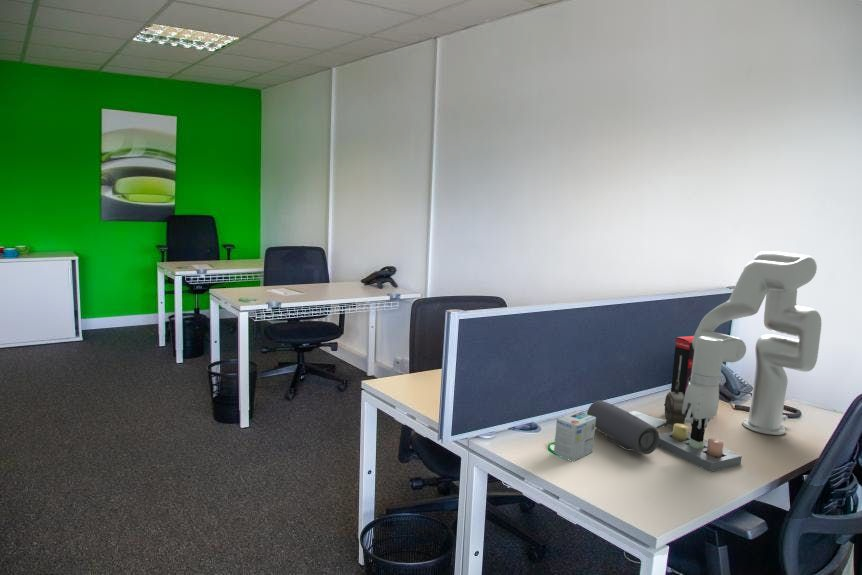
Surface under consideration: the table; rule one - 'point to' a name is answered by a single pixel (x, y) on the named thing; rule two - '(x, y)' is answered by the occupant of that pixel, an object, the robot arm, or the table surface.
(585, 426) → the light bulb box
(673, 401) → the alarm clock
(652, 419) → the external hard drive
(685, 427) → the ochre button
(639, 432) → the bluetooth speaker
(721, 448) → the terracotta button
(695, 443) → the green button
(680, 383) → the graphics card box
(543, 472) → the table surface
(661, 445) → the button board
